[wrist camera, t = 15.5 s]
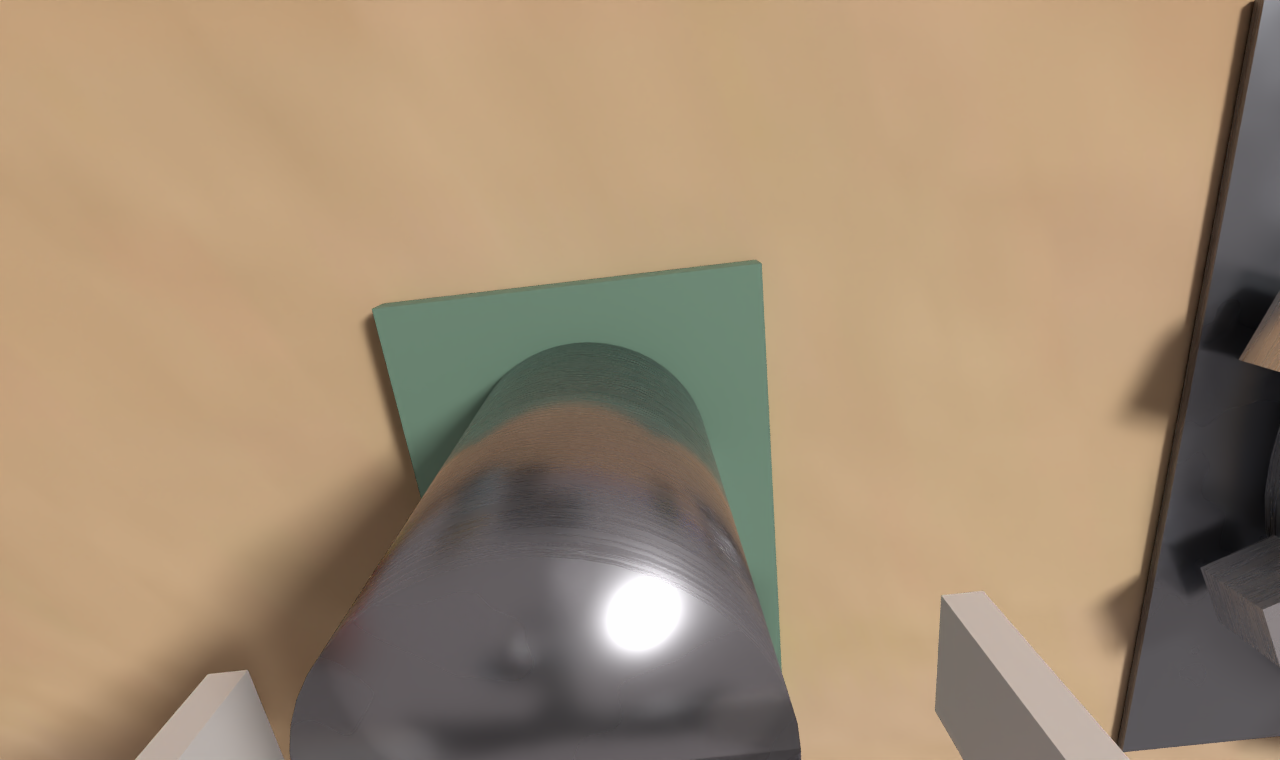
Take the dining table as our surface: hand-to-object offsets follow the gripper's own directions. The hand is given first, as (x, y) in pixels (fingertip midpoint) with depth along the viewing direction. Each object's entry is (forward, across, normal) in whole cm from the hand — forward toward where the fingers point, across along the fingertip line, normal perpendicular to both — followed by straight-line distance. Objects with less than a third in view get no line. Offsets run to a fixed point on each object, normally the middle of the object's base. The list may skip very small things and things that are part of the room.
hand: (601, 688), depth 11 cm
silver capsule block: (+4, 0, 0) cm, 4 cm away
